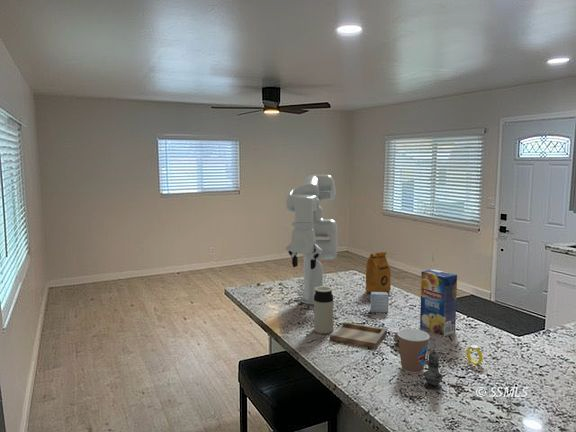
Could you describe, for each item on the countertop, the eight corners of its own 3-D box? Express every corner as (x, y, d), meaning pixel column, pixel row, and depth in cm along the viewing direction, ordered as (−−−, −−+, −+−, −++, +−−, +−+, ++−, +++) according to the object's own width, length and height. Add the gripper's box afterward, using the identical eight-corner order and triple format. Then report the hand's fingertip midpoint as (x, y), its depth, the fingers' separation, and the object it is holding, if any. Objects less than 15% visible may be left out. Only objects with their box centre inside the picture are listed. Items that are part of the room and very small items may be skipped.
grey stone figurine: (419, 381, 134) (420, 345, 133) (437, 381, 135) (439, 344, 133) (427, 391, 128) (428, 353, 127) (446, 390, 129) (447, 352, 127)
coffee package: (393, 292, 230) (393, 252, 227) (374, 296, 224) (375, 255, 222) (381, 288, 239) (381, 249, 236) (363, 291, 233) (363, 251, 231)
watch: (464, 360, 149) (464, 344, 149) (470, 359, 150) (470, 342, 150) (478, 366, 144) (477, 349, 143) (484, 365, 145) (484, 348, 144)
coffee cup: (424, 378, 136) (425, 342, 135) (392, 371, 141) (393, 336, 140) (431, 366, 145) (432, 332, 143) (401, 359, 150) (402, 326, 149)
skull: (414, 338, 169) (414, 323, 168) (428, 345, 162) (428, 329, 161) (389, 343, 164) (390, 328, 163) (403, 351, 157) (403, 335, 156)
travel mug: (332, 334, 173) (332, 291, 171) (312, 333, 174) (312, 290, 172) (334, 327, 181) (334, 286, 179) (315, 326, 182) (315, 285, 180)
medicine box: (387, 309, 203) (387, 292, 202) (388, 312, 198) (388, 294, 197) (370, 309, 203) (370, 291, 202) (371, 312, 199) (371, 294, 198)
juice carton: (455, 332, 174) (457, 274, 172) (443, 336, 170) (445, 277, 168) (431, 323, 184) (433, 269, 182) (419, 326, 180) (421, 271, 178)
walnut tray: (329, 339, 168) (329, 334, 167) (343, 326, 182) (343, 321, 181) (375, 348, 159) (375, 343, 159) (386, 333, 173) (386, 329, 173)
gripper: (281, 226, 178) (281, 267, 179) (319, 228, 170) (319, 271, 171) (289, 223, 184) (289, 263, 186) (326, 226, 176) (326, 267, 178)
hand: (303, 267), depth 179 cm, fingers open, 7 cm apart
